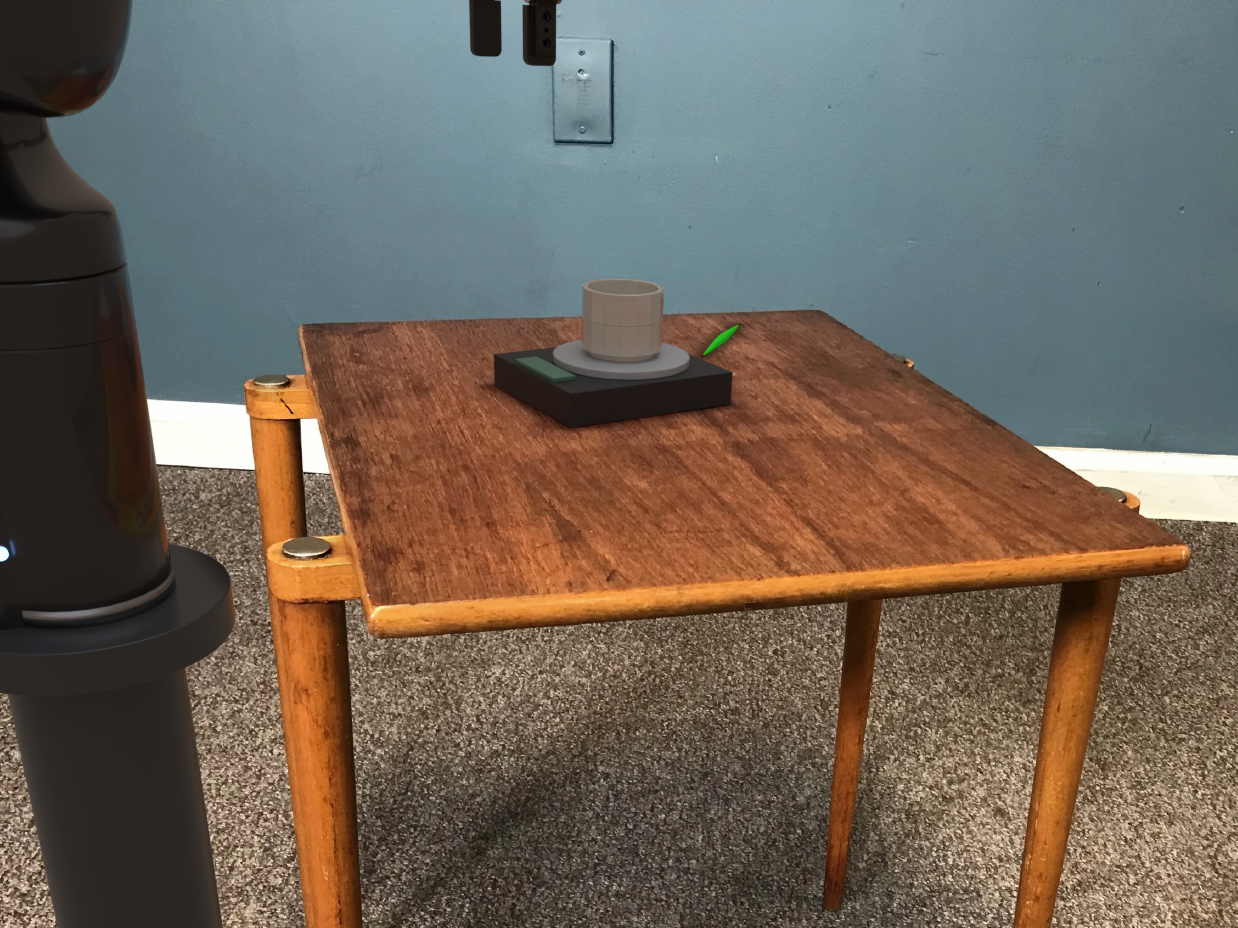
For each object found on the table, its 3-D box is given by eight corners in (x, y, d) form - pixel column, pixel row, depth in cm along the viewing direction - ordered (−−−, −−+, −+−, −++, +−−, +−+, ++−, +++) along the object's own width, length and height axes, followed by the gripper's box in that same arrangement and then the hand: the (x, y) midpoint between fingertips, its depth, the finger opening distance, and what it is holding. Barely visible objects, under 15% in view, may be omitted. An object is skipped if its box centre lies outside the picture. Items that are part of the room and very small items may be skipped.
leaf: (745, 328, 127) (745, 319, 127) (705, 362, 115) (705, 353, 115) (735, 327, 128) (735, 319, 127) (695, 362, 116) (695, 352, 115)
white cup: (607, 367, 99) (608, 298, 97) (567, 348, 104) (567, 282, 102) (676, 359, 103) (678, 291, 100) (634, 341, 107) (636, 276, 105)
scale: (570, 428, 96) (570, 385, 95) (494, 386, 105) (493, 346, 104) (730, 404, 103) (733, 364, 102) (647, 366, 112) (648, 329, 111)
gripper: (412, -210, 92) (422, 53, 100) (504, -227, 82) (508, 68, 89) (512, -198, 96) (515, 55, 103) (613, -213, 85) (607, 69, 93)
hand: (512, 60), depth 96 cm, fingers open, 8 cm apart
